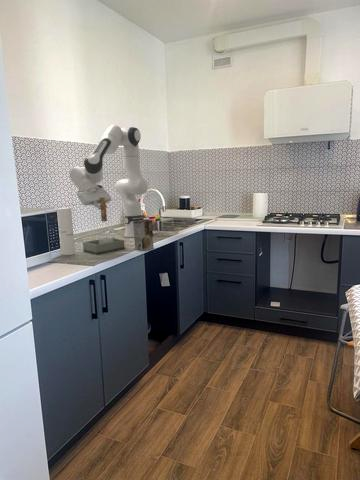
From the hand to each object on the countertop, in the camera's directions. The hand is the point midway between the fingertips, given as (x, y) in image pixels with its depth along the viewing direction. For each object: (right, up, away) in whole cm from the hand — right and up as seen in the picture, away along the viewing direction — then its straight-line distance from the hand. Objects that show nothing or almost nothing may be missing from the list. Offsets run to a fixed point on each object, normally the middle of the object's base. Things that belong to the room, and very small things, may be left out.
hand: (103, 208), depth 198 cm
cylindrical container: (-19, -25, -1) cm, 32 cm away
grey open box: (-1, -23, +6) cm, 24 cm away
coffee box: (+22, -23, +4) cm, 32 cm away
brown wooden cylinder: (0, -7, +1) cm, 7 cm away
